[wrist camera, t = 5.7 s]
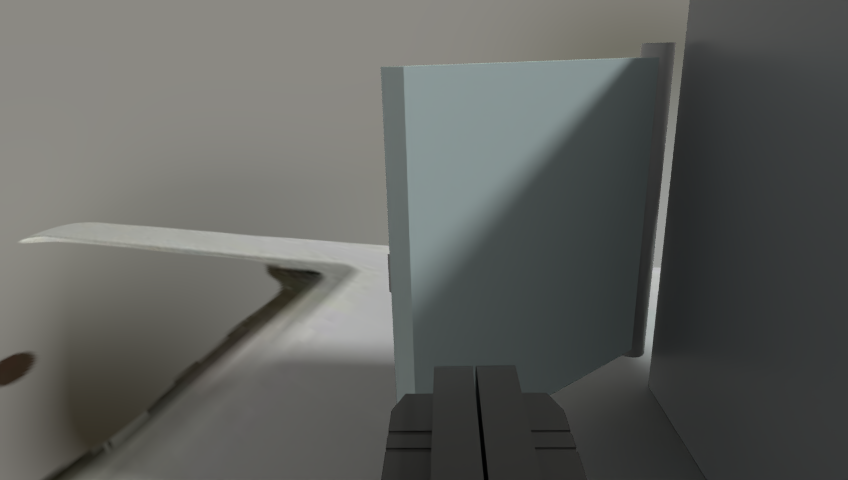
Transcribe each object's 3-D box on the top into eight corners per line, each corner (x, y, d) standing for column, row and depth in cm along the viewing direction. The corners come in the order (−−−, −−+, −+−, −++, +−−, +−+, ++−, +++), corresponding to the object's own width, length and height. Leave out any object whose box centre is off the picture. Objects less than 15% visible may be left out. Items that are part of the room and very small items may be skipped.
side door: (649, 351, 25) (682, 42, 21) (419, 483, 18) (405, 45, 14) (616, 337, 27) (641, 44, 23) (390, 456, 19) (368, 47, 15)
